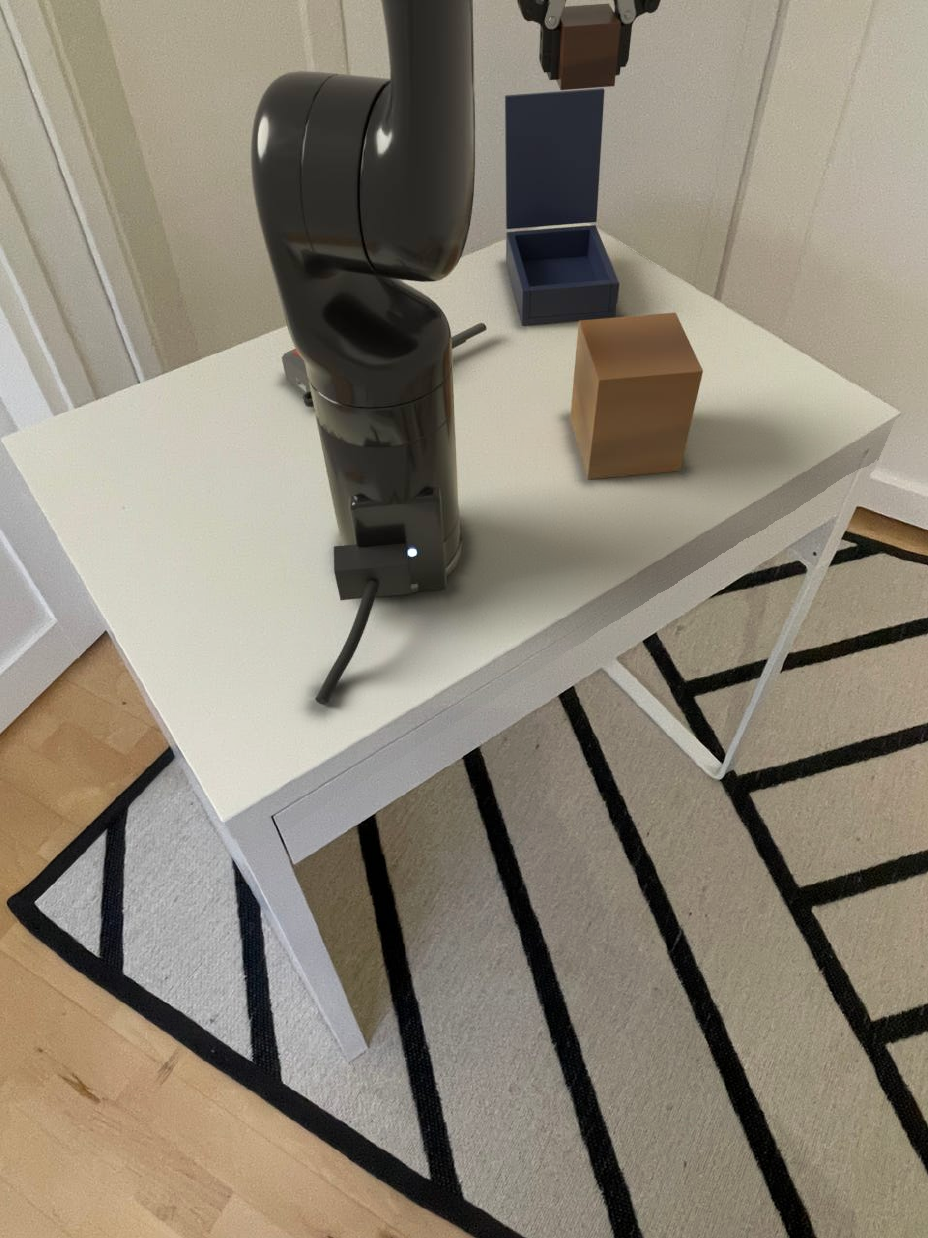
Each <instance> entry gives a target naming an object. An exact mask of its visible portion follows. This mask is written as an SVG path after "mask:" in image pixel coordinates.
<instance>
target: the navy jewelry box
mask: <svg viewBox="0 0 928 1238" xmlns="http://www.w3.org/2000/svg"><path fill="white" fill-rule="evenodd" d="M505 236H506V239H505V244H506V245H505V267H506V271H507V275H508V278H509V283H510V286H511V290H512V293H513V297H514V302H515V305H516V309H517V313H518V316H519V320H520V324H521V326H532V325H544V324H555V323H567V322H568V323H569V322H579V321H581V320H593V319H604V318H616V316H617V314H616V313H617V308H618V307H617V306H618V300H619V299H618V298H619V289H620V281H619V278H618V276H617V274H616V271H615V269H614V266H613V264H612V262H611V259H610V256H609V254H608V252H607V249H606V247H605V245H604V242H603V240H602V237H601V235H600V232H599V229H598V226H597V225H596V224H591V225H590V224H589V225H578V226H563V227H553V228H552V227H551V228H541V229H529V230H528V229H527V230H517V231H516V230H515V231H507V232H506V235H505Z"/></svg>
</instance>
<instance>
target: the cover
mask: <svg viewBox="0 0 928 1238" xmlns="http://www.w3.org/2000/svg"><path fill="white" fill-rule="evenodd" d="M605 91H606V90H605V88H604V87H597V88H584V89H571V90H560V91H559V90H558V91H545V92H531V93H530V92H529V93H518V94H506V95H505V94H504V144H505V145H504V152H505V156H504V157H505V158H504V159H505V164H504V165H505V229H506V230H515V229H516V230H517V229H528V228H539V227H541V228H542V227H552V226H563V225H564V226H565V225H576V224H590V223H597V222H598V206H599V205H598V204H599V191H600V175H601V174H600V171H601V157H602V156H601V155H602V140H603V125H604V124H603V121H604V106H605Z"/></svg>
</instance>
